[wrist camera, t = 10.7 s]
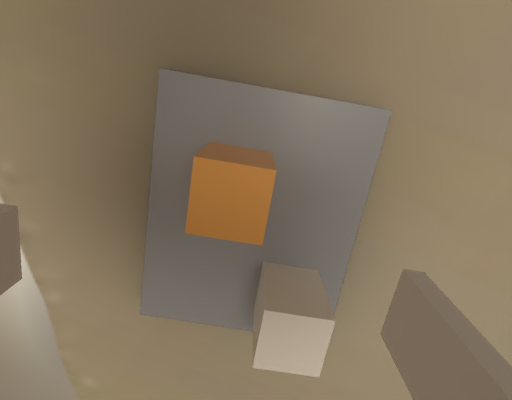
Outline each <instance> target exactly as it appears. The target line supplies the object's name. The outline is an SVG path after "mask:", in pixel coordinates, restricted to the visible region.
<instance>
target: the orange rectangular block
mask: <svg viewBox="0 0 512 400" xmlns="http://www.w3.org/2000/svg"><path fill="white" fill-rule="evenodd" d="M276 172H277V169H276V165H275V161H274V157H273V153H272V152H269V151H263V150H257V149H251V148H246V147H240V146H234V145H228V144H222V143H217V142H209V143H208V144H207V145H206V146H205V147H204V148H203V149H202V150H200V151H199V152H198V153H197V154H196V155H195V156H194V159H193V168H192V176H191V185H190V194H189V203H188V211H187V220H186V229H185V233H186V234H192V235H199V236H205V237H211V238H217V239H224V240H230V241H236V242H243V243H249V244H255V245H261V246H262V245H263V240H264V234H265V229H266V224H267V219H268V214H269V208H270V203H271V198H272V193H273V188H274V183H275V177H276Z"/></svg>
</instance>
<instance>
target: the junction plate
mask: <svg viewBox="0 0 512 400" xmlns="http://www.w3.org/2000/svg"><path fill="white" fill-rule="evenodd" d="M391 112H392V110H387V109H382V108H376V107H371V106H365V105H360V104H354V103H349V102H343V101H338V100H332V99H327V98H321V97H316V96H310V95H305V94H299V93H294V92H288V91H283V90H277V89H272V88H266V87H261V86H255V85H250V84H244V83H239V82H233V81H228V80H222V79H217V78H211V77H206V76H200V75H195V74H189V73H184V72H178V71H173V70H167V69H162V68H159V75H158V88H157V101H156V114H155V127H154V140H153V153H152V166H151V179H150V192H149V205H148V218H147V231H146V244H145V257H144V270H143V283H142V296H141V308H140V314H141V315H148V316H154V317H161V318H168V319H174V320H181V321H188V322H194V323H201V324H208V325H214V326H221V327H228V328H234V329H241V330H248V331H253V362H252V368H259V369H265V370H272V371H279V372H286V373H293V374H300V375H307V376H314V377H319V376H320V372H321V369H322V366H323V362H324V359H325V355H326V352H327V348H328V345H329V341H330V338H331V334H332V331H333V328H334V324H335V318H334V312H335V308H336V305H337V301H338V298H339V294H340V291H341V287H342V284H343V280H344V277H345V273H346V270H347V266H348V263H349V259H350V256H351V252H352V249H353V245H354V242H355V238H356V235H357V231H358V228H359V224H360V221H361V217H362V214H363V210H364V207H365V203H366V200H367V196H368V193H369V189H370V186H371V182H372V179H373V175H374V172H375V168H376V165H377V161H378V158H379V154H380V151H381V147H382V144H383V140H384V137H385V133H386V130H387V126H388V123H389V119H390V116H391ZM209 142H217V143H222V144H228V145H234V146H240V147H246V148H251V149H257V150H263V151H269V152H272V153H273V157H274V161H275V165H276V169H277V172H276V177H275V183H274V188H273V193H272V198H271V203H270V208H269V214H268V219H267V224H266V229H265V234H264V240H263V245H262V246H261V245H255V244H249V243H243V242H236V241H230V240H224V239H217V238H211V237H205V236H199V235H192V234H186V233H185V229H186V220H187V211H188V203H189V194H190V185H191V176H192V168H193V159H194V156H195V155H196V154H197V153H198V152H199V151H200V150H202V149H203V148H204V147H205V146H206V145H207V144H208V143H209Z"/></svg>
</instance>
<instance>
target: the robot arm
mask: <svg viewBox="0 0 512 400" xmlns="http://www.w3.org/2000/svg"><path fill="white" fill-rule="evenodd" d="M21 279H22V273H21V255H20V237H19V219H18V206H13V205H6V204H0V295H1V294H2V293H4V292H5V291H6V290H8V289H9V288H10V287H11V286H13V285H14V284H15V283H17V282H18V281H19V280H21ZM380 334H381V336H382V338H383V340H384V342H385V344H386V346H387V348H388V350H389V352H390V354H391V356H392V358H393V360H394V362H395V364H396V366H397V368H398V370H399V372H400V374H401V376H402V378H403V380H404V382H405V384H406V386H407V388H408V390H409V392H410V394H411V396H412V398H413V400H512V367H511V366H510V365H509V363H508V362H507V361H506V360H505V359H504V358H503V357H502V356H501V355H500V354H499V353H498V352H497V350H496V349H495V348H494V347H493V346H492V345H491V344H490V343H489V342H488V341H487V340H486V339H485V337H484V336H483V335H482V334H481V333H480V332H479V331H478V330H477V329H476V328H475V327H474V326H473V324H472V323H471V322H470V321H469V320H468V319H467V318H466V317H465V316H464V315H463V314H462V313H461V311H460V310H459V309H458V308H457V307H456V306H455V305H454V304H453V303H452V302H451V301H450V299H449V298H448V297H447V296H446V295H445V294H444V293H443V292H442V291H441V290H440V289H439V288H438V286H437V285H436V284H435V283H434V282H433V281H432V280H431V279H430V278H429V277H428V276H427V275H426V273H425V272H419V271H413V270H407V269H403V271H402V273H401V276H400V279H399V282H398V285H397V288H396V291H395V293H394V296H393V299H392V302H391V305H390V308H389V311H388V313H387V316H386V319H385V322H384V325H383V328H382V331H381V333H380Z"/></svg>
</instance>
